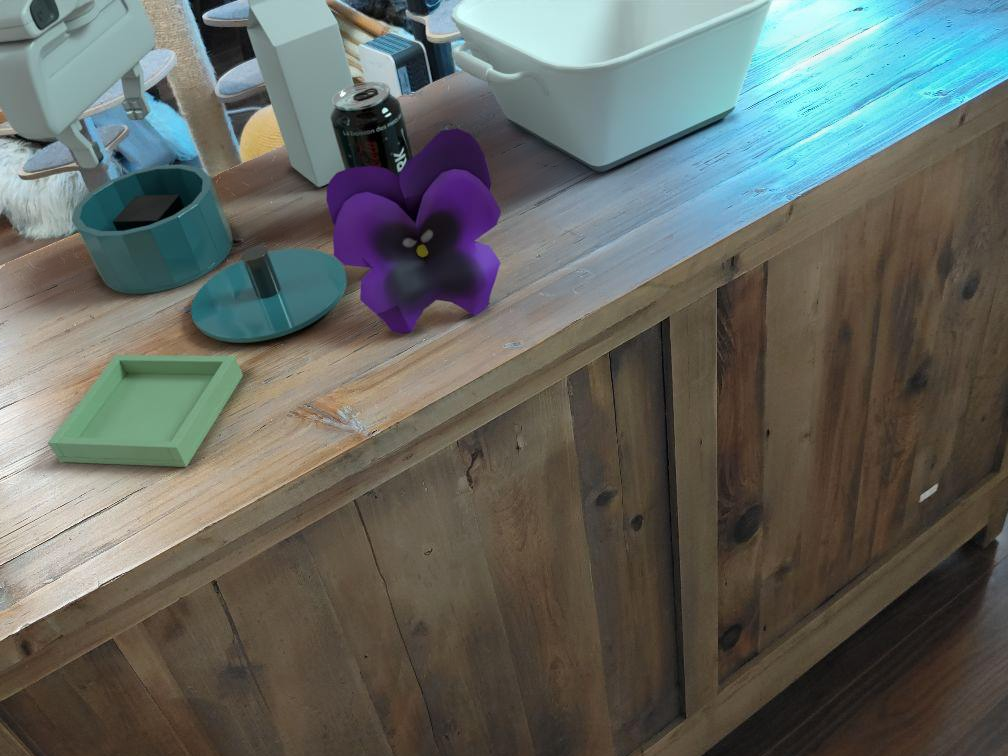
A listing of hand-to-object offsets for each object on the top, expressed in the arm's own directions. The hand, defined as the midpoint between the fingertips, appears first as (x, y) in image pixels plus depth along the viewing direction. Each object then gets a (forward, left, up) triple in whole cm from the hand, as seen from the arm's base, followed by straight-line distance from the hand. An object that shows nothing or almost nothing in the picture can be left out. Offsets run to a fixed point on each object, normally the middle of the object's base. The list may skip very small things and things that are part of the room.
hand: (117, 140), depth 94 cm
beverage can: (+22, +8, -13) cm, 26 cm away
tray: (+11, -25, -12) cm, 30 cm away
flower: (+30, -6, -13) cm, 33 cm away
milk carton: (+12, +18, -13) cm, 25 cm away
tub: (+43, +26, -13) cm, 51 cm away
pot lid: (+15, -8, -12) cm, 20 cm away
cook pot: (0, 0, -12) cm, 12 cm away
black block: (0, 0, -12) cm, 12 cm away
